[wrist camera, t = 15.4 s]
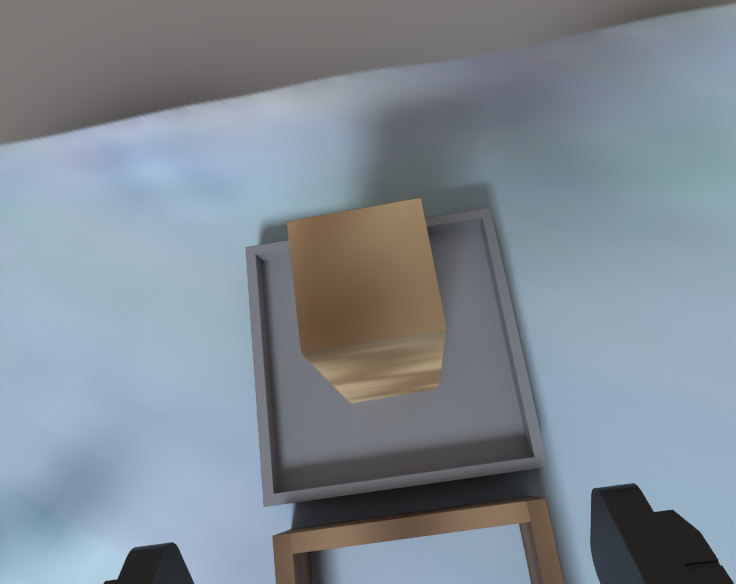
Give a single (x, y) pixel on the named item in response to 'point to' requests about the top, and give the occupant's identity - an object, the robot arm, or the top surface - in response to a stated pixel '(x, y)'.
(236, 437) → the top surface
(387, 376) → the oak peg
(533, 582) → the square wooden frame
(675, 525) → the robot arm
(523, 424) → the tray
